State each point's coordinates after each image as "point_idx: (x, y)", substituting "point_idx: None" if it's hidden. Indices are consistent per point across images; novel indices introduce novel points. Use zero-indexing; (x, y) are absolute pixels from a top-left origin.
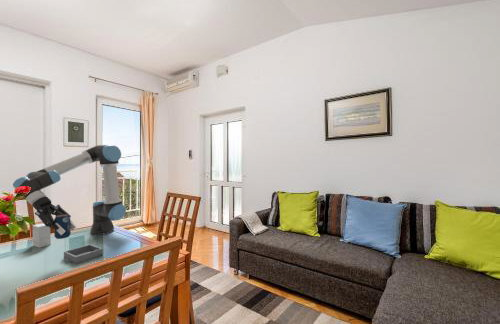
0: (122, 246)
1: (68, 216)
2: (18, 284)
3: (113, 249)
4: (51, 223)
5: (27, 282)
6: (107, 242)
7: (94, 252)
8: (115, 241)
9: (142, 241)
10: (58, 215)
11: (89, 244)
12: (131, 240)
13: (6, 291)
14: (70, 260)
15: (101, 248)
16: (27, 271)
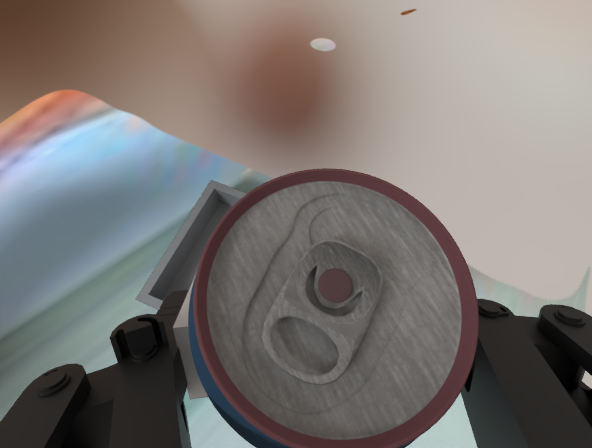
0: (105, 180)
1: (285, 187)
2: (537, 313)
3: (145, 196)
4: (521, 322)
5: (510, 292)
6: (18, 301)
7: None
8: (9, 263)
9: (42, 133)
10: (329, 440)
11: (143, 298)
12: (11, 188)
13: (584, 302)
14: None
15: (209, 185)
16: (453, 414)
